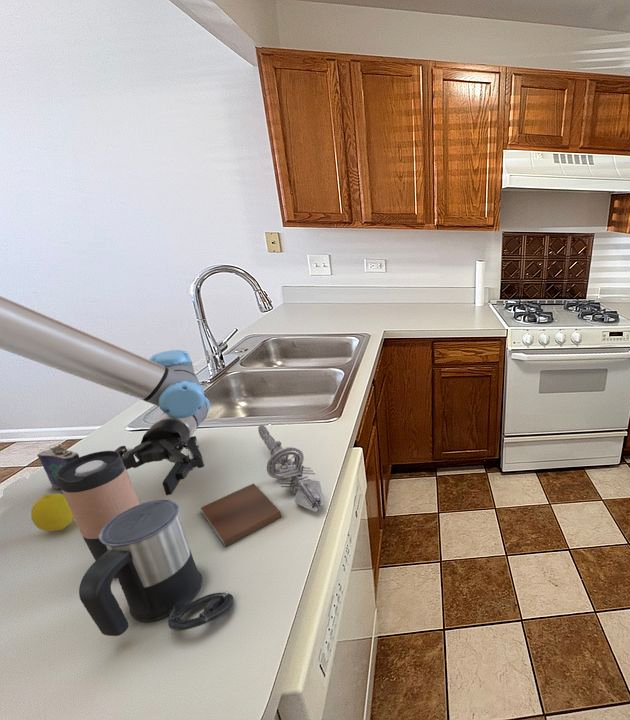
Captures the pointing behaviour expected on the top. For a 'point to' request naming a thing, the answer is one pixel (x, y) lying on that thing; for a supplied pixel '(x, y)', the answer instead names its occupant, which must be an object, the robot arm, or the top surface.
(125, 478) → the travel mug
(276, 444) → the spaceship
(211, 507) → the serving board
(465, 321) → the top surface
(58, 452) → the flask
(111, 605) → the milk frother
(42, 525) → the lemon
